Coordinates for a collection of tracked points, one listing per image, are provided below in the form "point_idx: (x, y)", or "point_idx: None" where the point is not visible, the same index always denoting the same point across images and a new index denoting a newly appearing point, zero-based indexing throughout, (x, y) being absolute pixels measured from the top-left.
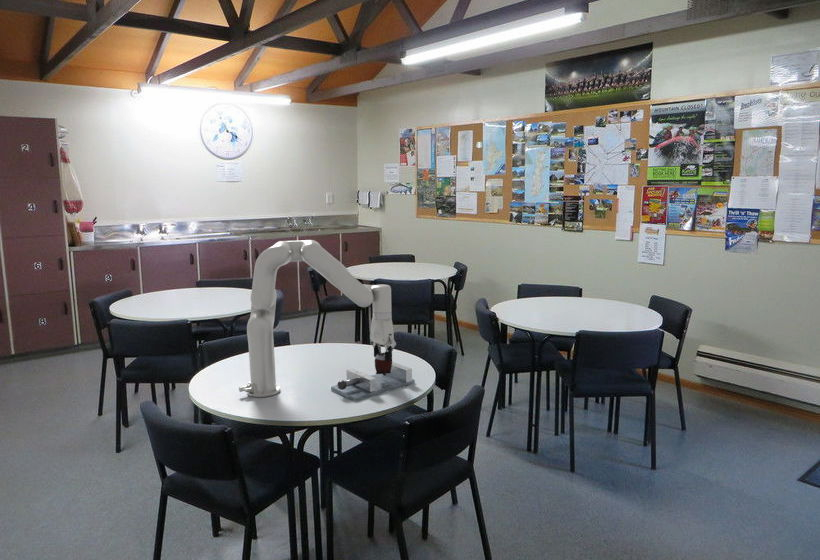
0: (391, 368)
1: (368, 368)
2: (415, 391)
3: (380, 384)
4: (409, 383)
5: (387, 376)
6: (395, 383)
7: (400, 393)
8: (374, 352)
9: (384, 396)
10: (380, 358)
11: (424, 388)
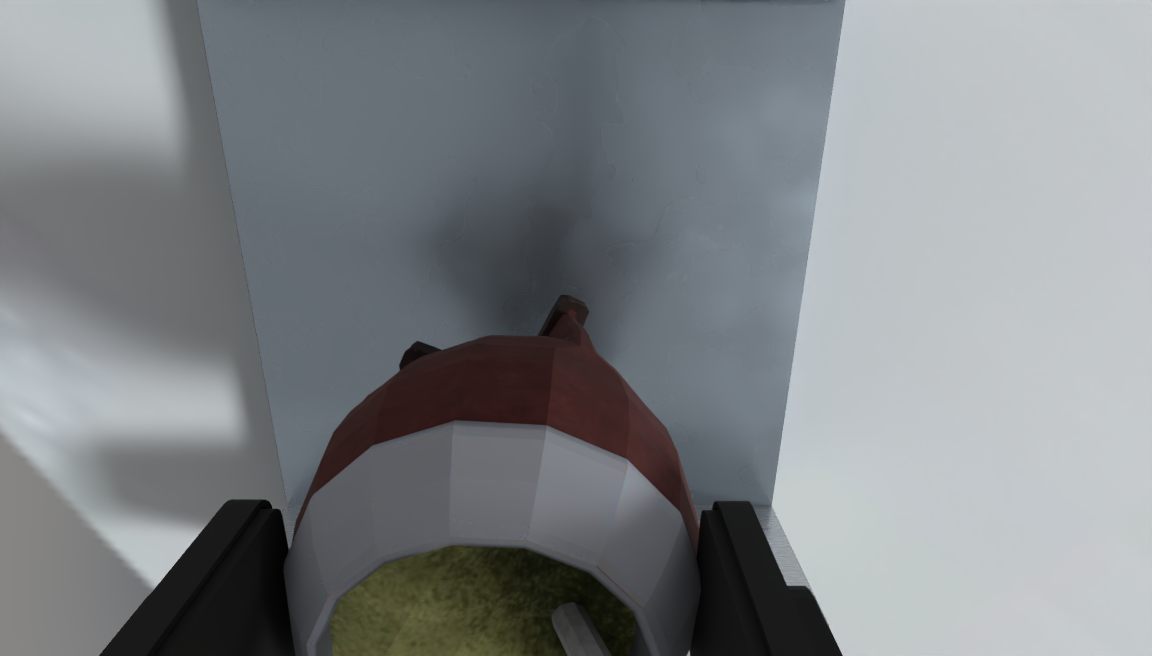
0: None
1: (1085, 519)
2: (89, 444)
3: (414, 223)
4: None
5: None
6: (327, 392)
7: (112, 282)
8: (752, 588)
9: (111, 50)
10: (371, 478)
11: (128, 558)
